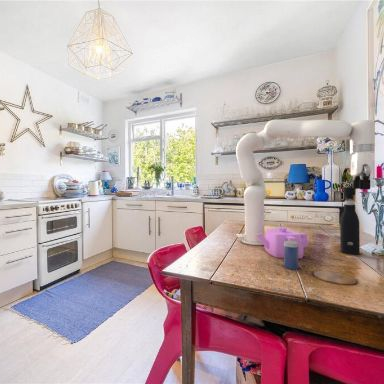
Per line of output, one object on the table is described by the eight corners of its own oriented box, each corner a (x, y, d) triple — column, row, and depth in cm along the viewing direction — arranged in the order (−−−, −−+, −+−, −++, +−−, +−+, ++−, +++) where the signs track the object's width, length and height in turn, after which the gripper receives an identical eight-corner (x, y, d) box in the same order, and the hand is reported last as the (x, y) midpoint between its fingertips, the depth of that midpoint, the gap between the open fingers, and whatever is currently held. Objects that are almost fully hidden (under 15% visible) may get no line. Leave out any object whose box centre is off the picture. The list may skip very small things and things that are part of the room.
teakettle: (295, 262, 97) (296, 232, 97) (254, 252, 111) (254, 227, 111) (311, 254, 107) (311, 227, 106) (271, 246, 121) (271, 223, 120)
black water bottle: (351, 250, 111) (351, 187, 110) (363, 254, 105) (363, 187, 104) (336, 250, 112) (336, 187, 111) (348, 254, 106) (347, 188, 104)
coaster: (315, 280, 79) (315, 279, 79) (311, 269, 89) (311, 268, 89) (360, 287, 73) (360, 286, 73) (351, 275, 83) (351, 274, 83)
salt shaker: (284, 268, 91) (284, 242, 91) (283, 264, 95) (283, 240, 94) (298, 270, 88) (298, 244, 88) (297, 266, 92) (297, 241, 92)
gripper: (345, 152, 111) (344, 188, 112) (355, 148, 97) (355, 189, 97) (367, 151, 107) (366, 188, 108) (381, 146, 93) (380, 189, 93)
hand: (361, 189), depth 103 cm, fingers open, 9 cm apart
